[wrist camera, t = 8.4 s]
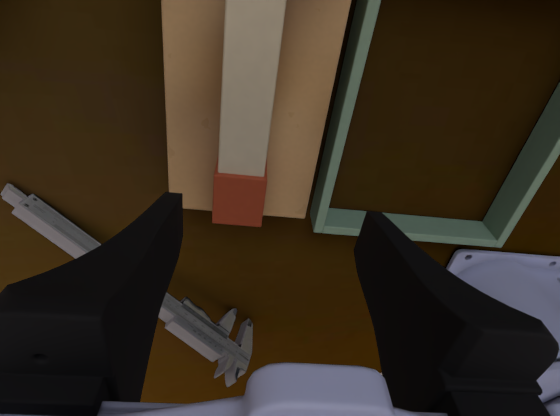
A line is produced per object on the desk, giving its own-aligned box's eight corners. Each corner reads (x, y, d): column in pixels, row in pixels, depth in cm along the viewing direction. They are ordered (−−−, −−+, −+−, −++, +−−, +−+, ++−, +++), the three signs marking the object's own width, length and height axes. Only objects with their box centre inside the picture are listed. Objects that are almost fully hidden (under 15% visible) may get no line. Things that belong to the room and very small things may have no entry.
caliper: (253, 317, 32) (252, 388, 27) (245, 323, 32) (242, 394, 27) (10, 180, 23) (-61, 245, 18) (3, 191, 24) (-68, 258, 19)
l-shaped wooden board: (361, -116, 16) (410, -148, 11) (300, 192, 25) (311, 259, 20) (171, -152, 15) (121, -206, 10) (178, 181, 24) (155, 247, 19)
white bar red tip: (294, -65, 14) (300, -67, 12) (261, 196, 21) (261, 227, 19) (229, -75, 14) (223, -80, 12) (217, 192, 21) (211, 223, 19)
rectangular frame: (633, -32, 18) (674, -30, 16) (485, 228, 27) (501, 248, 26) (373, -78, 17) (387, -81, 15) (309, 212, 26) (313, 232, 24)
